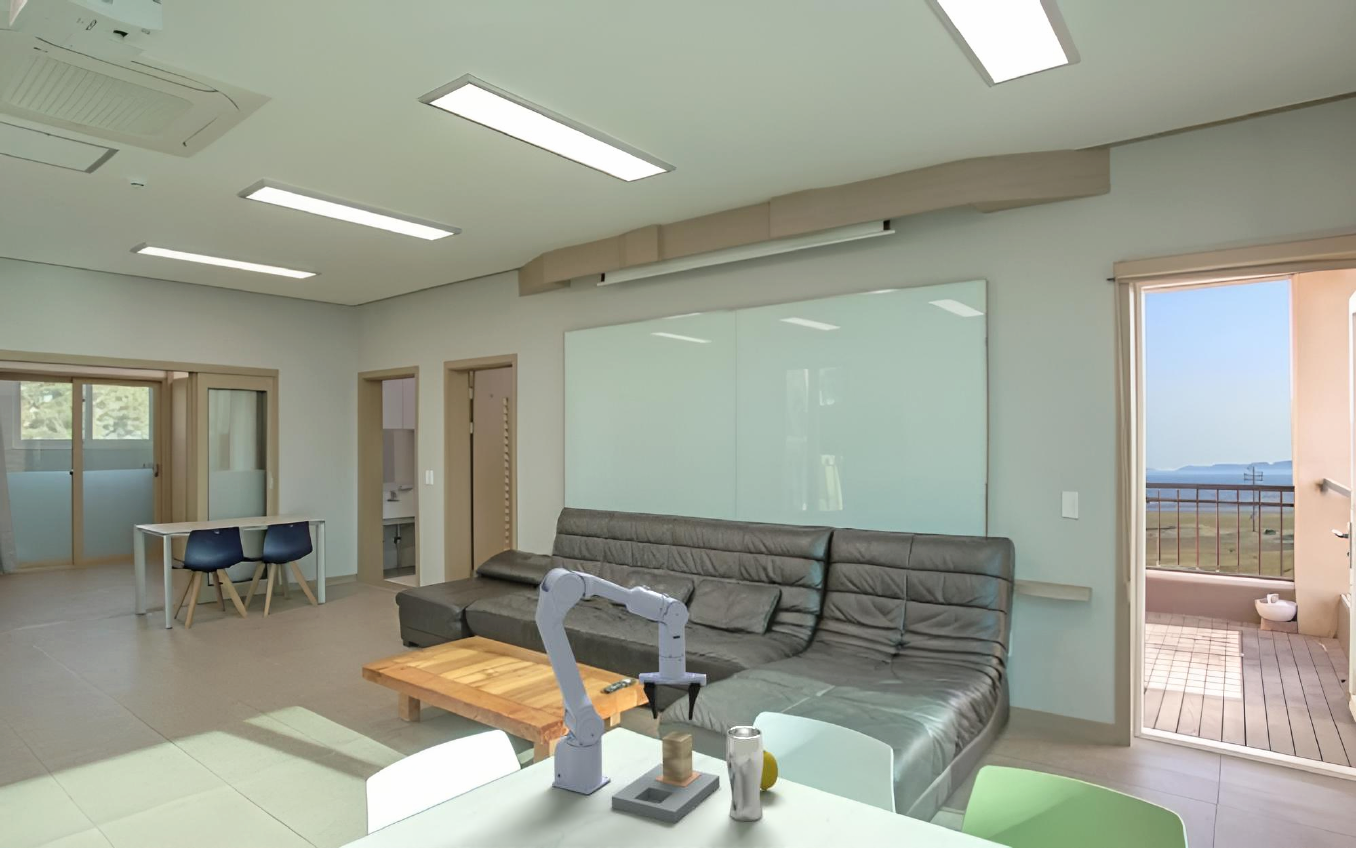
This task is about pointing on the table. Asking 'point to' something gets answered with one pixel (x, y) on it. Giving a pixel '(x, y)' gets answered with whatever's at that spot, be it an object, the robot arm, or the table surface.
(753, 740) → the beer glass
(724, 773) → the table surface
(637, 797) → the pocket board
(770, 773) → the lemon
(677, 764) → the peg
